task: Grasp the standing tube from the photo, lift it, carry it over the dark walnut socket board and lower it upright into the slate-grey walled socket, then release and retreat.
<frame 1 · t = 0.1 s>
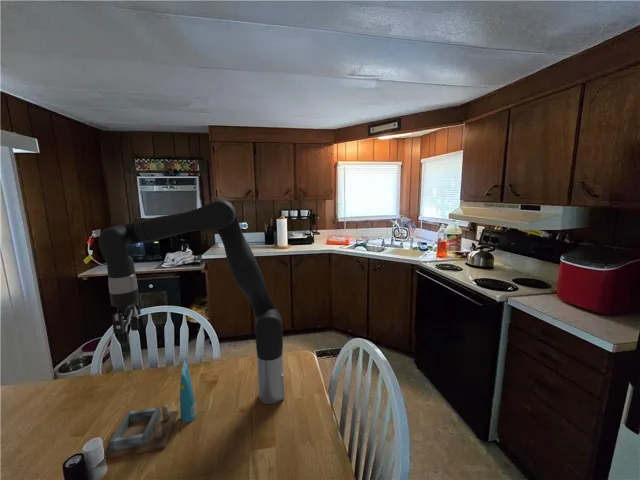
hand: (130, 336, 95), 29 cm above the table, fingers open, 8 cm apart
tube: (188, 418, 99), on the table
socket board: (144, 434, 92), on the table
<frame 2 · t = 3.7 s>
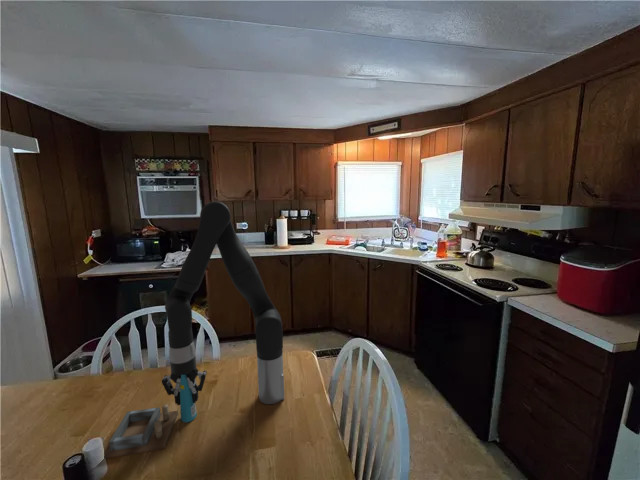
hand: (187, 402, 98), 6 cm above the table, fingers closed on tube, 4 cm apart
tube: (188, 418, 99), on the table, touching gripper
when the fingers open (8 cm above the table, at t = 9.5 s): tube drops 1 cm, resting on socket board.
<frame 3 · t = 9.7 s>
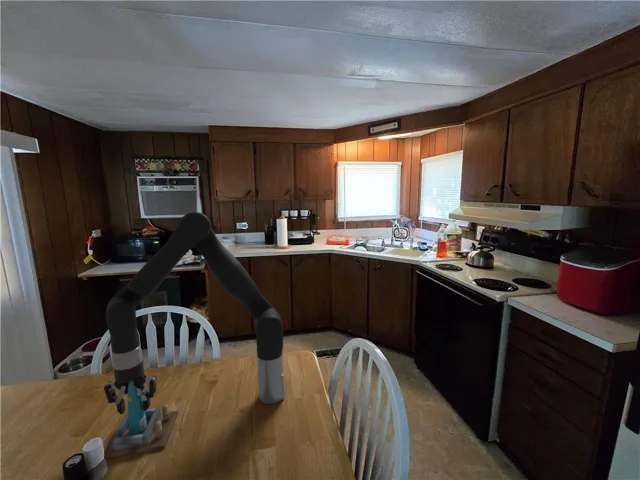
hand: (134, 410, 90), 9 cm above the table, fingers open, 6 cm apart
tube: (137, 431, 92), point 1 cm above the table, touching socket board
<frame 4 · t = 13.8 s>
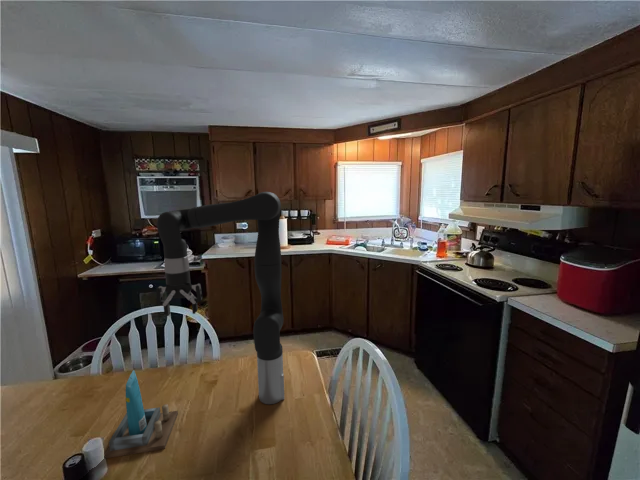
hand: (181, 314, 102), 33 cm above the table, fingers open, 8 cm apart
nothing on the table moved.
at the end: tube 0.1 cm from the target spot on the socket board, point 1.0 cm above the socket board's base; tube tilted 0°; the gripper is holding nothing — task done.
